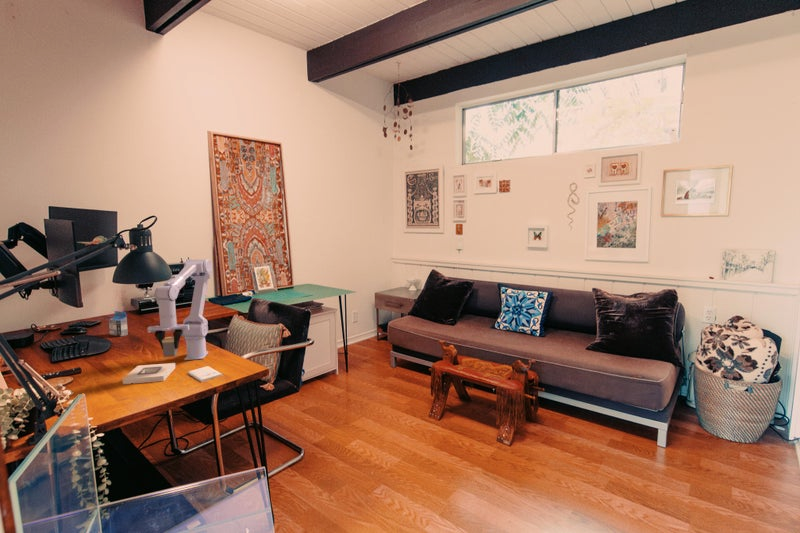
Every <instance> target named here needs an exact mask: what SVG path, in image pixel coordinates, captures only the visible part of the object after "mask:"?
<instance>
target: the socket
mask: <svg viewBox="0 0 800 533" xmlns="http://www.w3.org/2000/svg"><path fill="white" fill-rule="evenodd" d="M176 368H177V367H176V362H171V363H158V364H157V363H156V364H155V363H154V364H144V365H140V364H139V365H137V366H135V368H133V369H132V370H131V371H130V372H129V373H127V375H126V376H125V377H123V378H122V385H130V384H131V383H133V384H143V383H155V382H165V381H166V380H167V378H168V377H169V376H170V375H171V373H172V372H173V371H174V370H175V369H176ZM131 385H132V384H131Z"/></svg>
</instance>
